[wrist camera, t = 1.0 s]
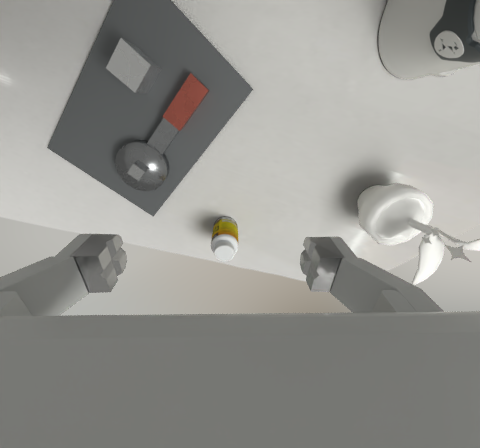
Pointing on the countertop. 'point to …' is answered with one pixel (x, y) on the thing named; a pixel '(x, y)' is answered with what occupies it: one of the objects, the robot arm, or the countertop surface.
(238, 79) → the mat
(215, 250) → the supplement bottle
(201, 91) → the ratchet
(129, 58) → the light grey block
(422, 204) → the potted plant
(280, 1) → the countertop surface
